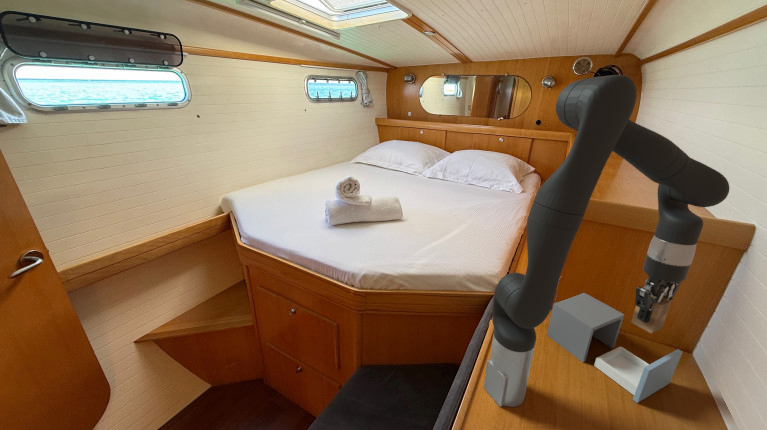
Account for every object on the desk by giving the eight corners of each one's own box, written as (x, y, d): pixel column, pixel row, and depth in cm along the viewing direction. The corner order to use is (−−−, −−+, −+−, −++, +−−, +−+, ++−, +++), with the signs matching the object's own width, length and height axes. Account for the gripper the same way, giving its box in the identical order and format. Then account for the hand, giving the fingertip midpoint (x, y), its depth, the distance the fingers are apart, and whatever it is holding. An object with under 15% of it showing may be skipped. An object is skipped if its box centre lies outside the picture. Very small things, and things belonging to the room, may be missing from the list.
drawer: (637, 403, 74) (649, 370, 70) (590, 367, 84) (598, 337, 80) (669, 383, 79) (682, 351, 75) (621, 351, 89) (631, 323, 85)
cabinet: (582, 362, 86) (592, 328, 81) (546, 335, 96) (553, 303, 92) (614, 347, 91) (624, 314, 86) (576, 323, 101) (584, 292, 97)
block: (651, 333, 72) (660, 305, 69) (631, 322, 76) (639, 295, 73) (662, 328, 74) (671, 301, 71) (641, 317, 77) (650, 291, 75)
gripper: (670, 271, 62) (648, 336, 68) (707, 257, 67) (684, 318, 73) (631, 256, 69) (614, 316, 75) (667, 244, 74) (648, 301, 80)
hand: (648, 317), depth 74 cm, fingers closed on block, 4 cm apart
